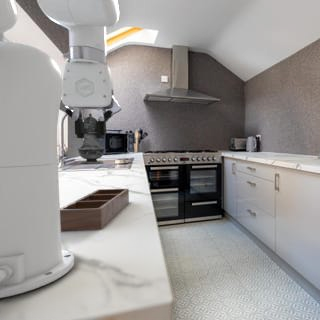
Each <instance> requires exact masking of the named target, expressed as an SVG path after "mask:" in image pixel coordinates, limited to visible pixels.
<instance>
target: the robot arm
mask: <svg viewBox="0 0 320 320" xmlns="http://www.w3.org/2000/svg"><path fill="white" fill-rule="evenodd" d="M36 1H37V5H38V6H39V8H40V10H41V11H42V13H43V14H44V15H45V16H46V17H47V18H48V19H50V20H51V21H53V22H54V23H56V24H57V25H60V26H61V27H63V28H66V29H68V43H69V49H68V52H67V53H63V54H62V57H63V60H64V61H66V62H65V64H64V67H63V68H64V69H63V75H62V72H61V70H60V67H59V65H58V64H57V62H56V61H55V60H54V58H52V57H51V56H50V55H49V54H48V53H46V52H45V51H43V50H41V49H39V48H37V47H35V46H31V45H29V44H23V43H20V42H13V41H1V40H0V299H2V298H8V297H13V296H15V295H20V294H24V293H27V292H30V291H34V290H37V289H38V288H41V287H44V286H46V285H48V284H50V283H52V282H55V281H56V280H58V279H60V278H62V277H63V276H65V275H66V274H67V273H68V272H70V270H72V268H73V267H74V265H75V255H74V254H73V253H72V251H70V250H66V249H63V247H62V231H61V225H60V208H61V204H60V202H61V201H60V183H59V182H60V180H59V162H58V161H59V160H58V123H59V115H60V111H61V112H63V113H65V114H66V115H68V116H69V118H71V120H72V121H74V134H75V136H76V138H77V139H84V134H83V133H82V132H84V112H85V110H96V112H97V122H96V130H97V138H98V139H99V140H100V139H105V136H107V123H108V121H109V120H110V119H111V118H112V117H114V115H115V114H118V113H119V112H121V111H122V107H121V106H120V105H119V103H118V101H117V100H116V99H115V91H114V83H113V77H112V73H111V72H112V71H111V69H110V67H109V65H108V63H107V59H108V58H107V57H108V56H107V55H108V54H107V28H109V27H110V28H111V27H113V26H115V25H116V24H117V23H118V21H119V17H120V9H119V3H118V0H36ZM17 22H18V6H17V2H16V0H0V34H2V33H5V32H7V31H9V30H11V29H13V28H14V27H15V25H16V23H17ZM69 107H72V109H71V108H69Z"/></svg>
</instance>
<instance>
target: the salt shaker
mask: <svg viewBox="0 0 320 320" xmlns="http://www.w3.org/2000/svg"><path fill="white" fill-rule="evenodd" d="M97 121H98V119H97V118H95V117H93V115H92V113H91V112H90V113H88V116H87V117H85V118H83V122H84V132H82V133H83V134H84V138H83V143H82V145H81V146H80V147H79V148H78V147H77V149H76V150H77V151H78V154H79V157H81V159H84V160H83V161H80V162H79V163H78V164H79V165H104V164H105V161H102V160H98V159H101V158H102V157H103V156H104V154H105V150H106V147H105V148H104V147H102V146H101V145H100V143H99V138H97V130H96V122H97Z"/></svg>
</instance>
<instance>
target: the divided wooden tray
mask: <svg viewBox="0 0 320 320" xmlns="http://www.w3.org/2000/svg"><path fill="white" fill-rule="evenodd" d="M129 203H130V191H129V188H106V189H105V188H103V189H100V188H99V189H96V190H94V191H92V192H90V193H88V194H86V195H84V196H82V197H81V198H78V199H77V200H74V201H73V202H71V203H68V204H66V205H64V206H62V207H60V225H61V232H67V231H85V230H102V229H103V228H104V227H105V226H106V225H107V224H108V223H109V222H110V221H111V220H112V219H113V218H114V217H116V216H117V215H118V214H119V213H120V212H121V211H122V210H123V209H124V208H125V207H126V206H127V205H128V204H129Z"/></svg>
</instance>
